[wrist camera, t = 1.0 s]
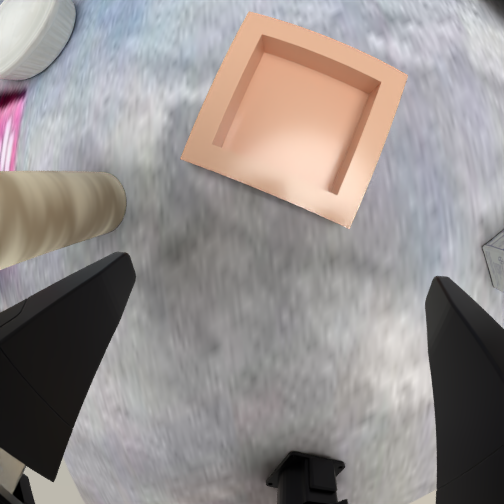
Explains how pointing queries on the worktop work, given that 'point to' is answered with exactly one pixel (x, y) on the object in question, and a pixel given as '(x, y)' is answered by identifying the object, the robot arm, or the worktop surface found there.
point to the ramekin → (33, 35)
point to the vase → (55, 211)
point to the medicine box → (496, 260)
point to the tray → (297, 117)
